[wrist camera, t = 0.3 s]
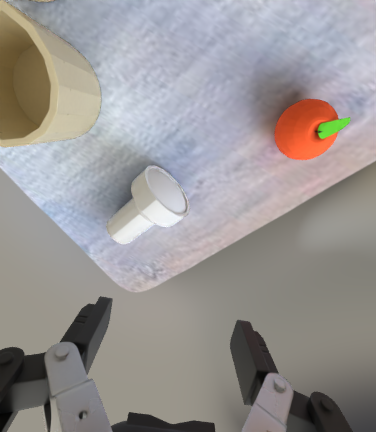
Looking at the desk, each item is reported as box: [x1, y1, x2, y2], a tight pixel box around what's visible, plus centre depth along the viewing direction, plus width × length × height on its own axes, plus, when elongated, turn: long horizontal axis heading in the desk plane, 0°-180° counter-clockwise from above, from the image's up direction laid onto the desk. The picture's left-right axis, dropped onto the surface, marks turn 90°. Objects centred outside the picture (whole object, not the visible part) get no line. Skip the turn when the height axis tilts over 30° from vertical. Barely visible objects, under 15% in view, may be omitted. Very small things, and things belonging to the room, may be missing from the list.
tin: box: [0, 0, 101, 147], centre depth 24 cm, size 11×11×10 cm
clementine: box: [275, 99, 350, 160], centre depth 27 cm, size 8×7×7 cm
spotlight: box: [106, 166, 190, 244], centre depth 32 cm, size 8×11×8 cm
